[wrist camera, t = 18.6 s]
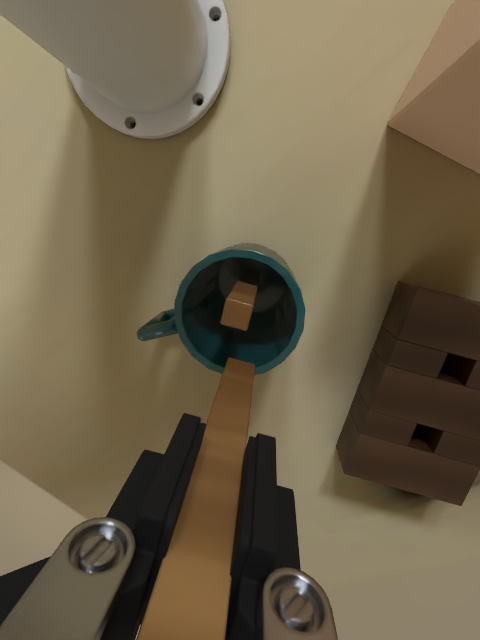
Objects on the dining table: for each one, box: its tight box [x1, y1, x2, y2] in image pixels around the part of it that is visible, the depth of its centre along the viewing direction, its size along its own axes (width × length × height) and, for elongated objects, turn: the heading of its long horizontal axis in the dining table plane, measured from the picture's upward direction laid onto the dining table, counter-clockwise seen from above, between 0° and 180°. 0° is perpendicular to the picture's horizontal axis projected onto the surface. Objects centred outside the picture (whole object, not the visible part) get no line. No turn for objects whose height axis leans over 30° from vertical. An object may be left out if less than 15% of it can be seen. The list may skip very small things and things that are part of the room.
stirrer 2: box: [220, 269, 261, 331], centre depth 24 cm, size 1×1×13 cm
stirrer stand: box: [336, 281, 480, 506], centre depth 30 cm, size 16×10×4 cm, turn 166°
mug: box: [137, 243, 305, 375], centre depth 27 cm, size 12×8×9 cm
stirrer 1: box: [136, 357, 255, 640], centre depth 12 cm, size 1×1×13 cm
